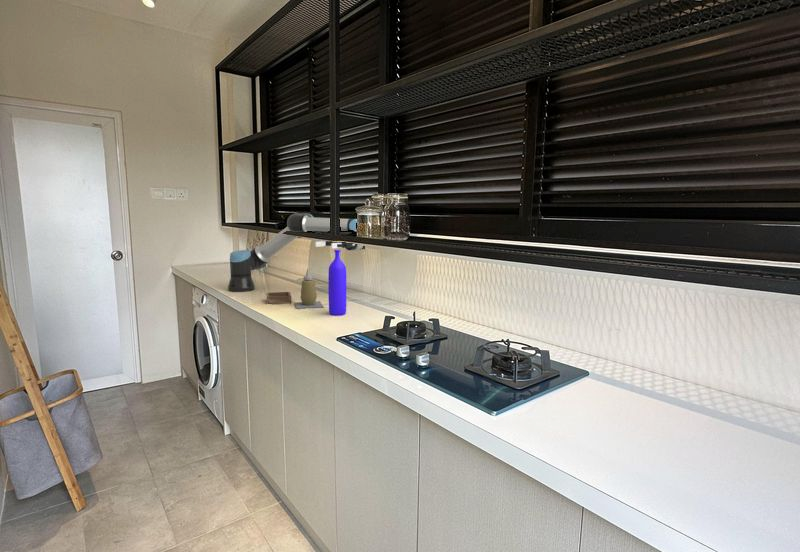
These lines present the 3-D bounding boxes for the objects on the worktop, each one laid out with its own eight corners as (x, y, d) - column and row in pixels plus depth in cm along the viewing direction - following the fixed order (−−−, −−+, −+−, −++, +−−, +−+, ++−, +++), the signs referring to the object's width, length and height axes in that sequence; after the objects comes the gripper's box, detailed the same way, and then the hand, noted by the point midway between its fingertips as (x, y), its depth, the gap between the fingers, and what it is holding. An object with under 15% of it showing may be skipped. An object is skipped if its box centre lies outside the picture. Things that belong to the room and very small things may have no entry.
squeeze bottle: (297, 304, 210) (296, 269, 207) (310, 302, 216) (310, 267, 213) (306, 306, 205) (306, 270, 202) (320, 304, 210) (319, 269, 208)
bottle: (334, 316, 188) (334, 251, 184) (325, 313, 194) (324, 249, 190) (350, 314, 194) (350, 250, 189) (340, 310, 200) (340, 249, 195)
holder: (266, 300, 222) (266, 292, 221) (289, 298, 226) (289, 291, 225) (267, 304, 210) (267, 297, 210) (291, 303, 214) (291, 295, 214)
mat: (294, 303, 214) (294, 302, 214) (319, 302, 218) (319, 301, 218) (296, 309, 202) (296, 307, 202) (323, 307, 206) (323, 306, 206)
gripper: (368, 251, 227) (338, 253, 211) (339, 248, 243) (309, 250, 227) (368, 237, 226) (338, 239, 210) (338, 235, 242) (309, 236, 226)
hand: (323, 245), depth 218 cm, fingers open, 13 cm apart
